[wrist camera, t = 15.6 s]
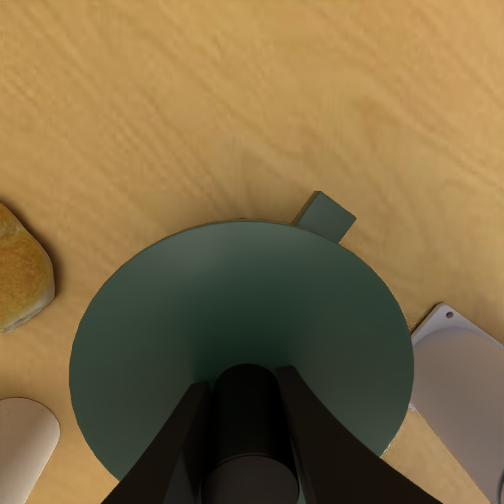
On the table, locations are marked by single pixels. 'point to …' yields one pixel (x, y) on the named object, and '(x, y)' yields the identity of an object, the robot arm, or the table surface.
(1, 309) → the bread roll
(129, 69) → the table surface
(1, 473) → the dixie cup
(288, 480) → the lid
